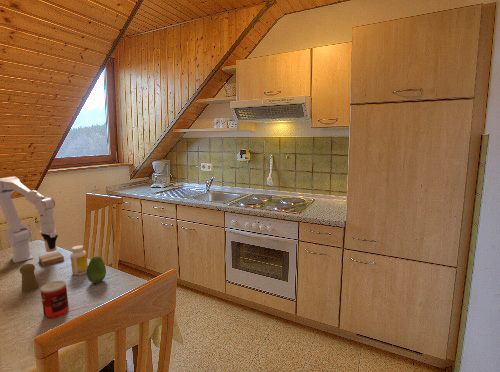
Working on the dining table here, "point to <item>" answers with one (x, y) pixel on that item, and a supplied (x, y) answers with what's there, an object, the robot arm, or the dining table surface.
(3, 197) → the robot arm
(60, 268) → the dining table surface
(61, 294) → the canned food
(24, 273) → the cork
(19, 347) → the dining table surface
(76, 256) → the supplement bottle
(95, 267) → the fruit
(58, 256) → the walnut board
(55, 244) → the tan rounded cylinder
